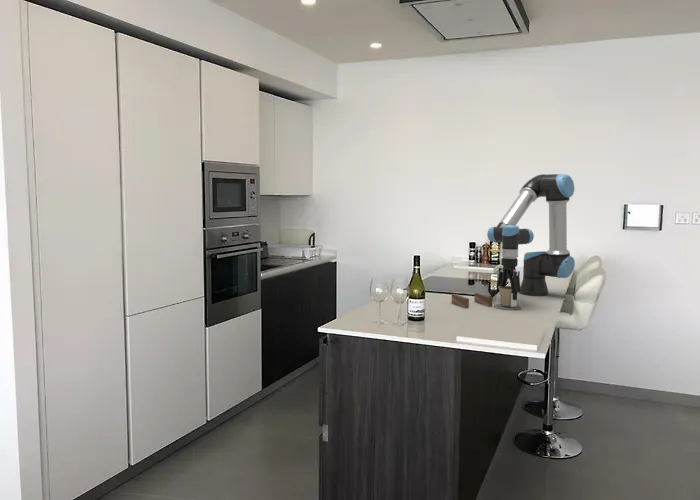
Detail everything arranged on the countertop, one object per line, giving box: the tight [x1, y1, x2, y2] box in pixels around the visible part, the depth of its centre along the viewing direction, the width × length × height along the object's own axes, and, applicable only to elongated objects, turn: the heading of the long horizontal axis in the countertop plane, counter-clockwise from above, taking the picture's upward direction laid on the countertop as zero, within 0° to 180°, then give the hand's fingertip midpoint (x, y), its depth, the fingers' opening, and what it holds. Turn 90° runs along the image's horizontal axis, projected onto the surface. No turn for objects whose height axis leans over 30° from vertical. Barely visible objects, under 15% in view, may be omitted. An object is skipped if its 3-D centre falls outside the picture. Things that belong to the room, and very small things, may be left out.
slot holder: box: [451, 292, 493, 309], centre depth 290 cm, size 15×13×4 cm
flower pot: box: [497, 285, 512, 306], centre depth 284 cm, size 9×9×9 cm
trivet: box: [493, 303, 523, 311], centre depth 284 cm, size 13×13×1 cm
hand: (507, 304), depth 284 cm, fingers closed on flower pot, 8 cm apart
